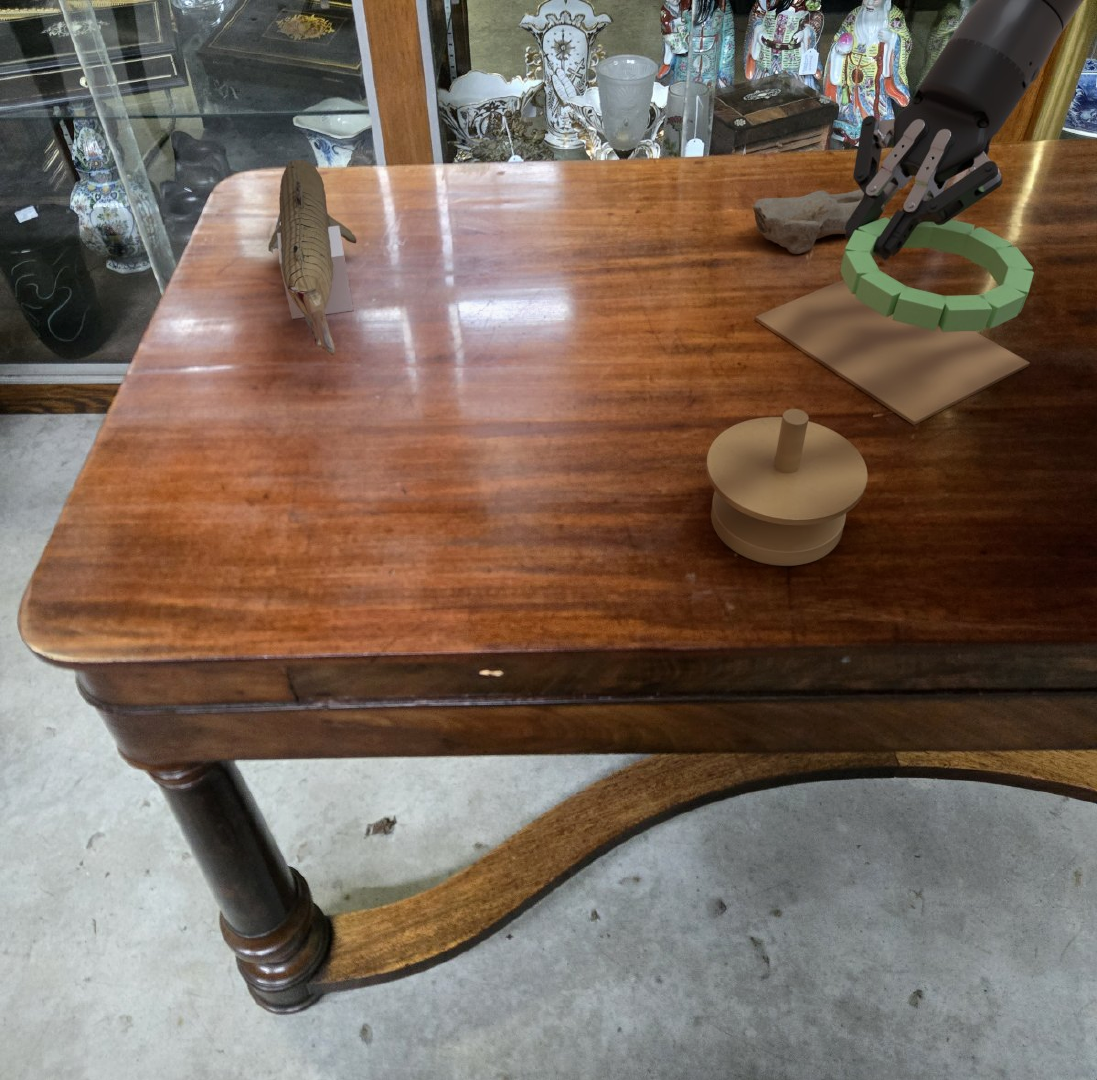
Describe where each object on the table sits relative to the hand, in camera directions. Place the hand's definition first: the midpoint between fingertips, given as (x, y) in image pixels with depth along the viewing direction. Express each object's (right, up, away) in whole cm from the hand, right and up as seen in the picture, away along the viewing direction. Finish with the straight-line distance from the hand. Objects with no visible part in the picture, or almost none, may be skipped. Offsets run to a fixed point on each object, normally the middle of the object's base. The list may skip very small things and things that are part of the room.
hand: (865, 247), depth 88 cm
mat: (+5, -6, +9) cm, 12 cm away
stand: (-9, -23, -8) cm, 26 cm away
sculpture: (+2, +8, +24) cm, 25 cm away
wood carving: (-49, -2, +14) cm, 51 cm away
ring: (+5, -3, -3) cm, 6 cm away
